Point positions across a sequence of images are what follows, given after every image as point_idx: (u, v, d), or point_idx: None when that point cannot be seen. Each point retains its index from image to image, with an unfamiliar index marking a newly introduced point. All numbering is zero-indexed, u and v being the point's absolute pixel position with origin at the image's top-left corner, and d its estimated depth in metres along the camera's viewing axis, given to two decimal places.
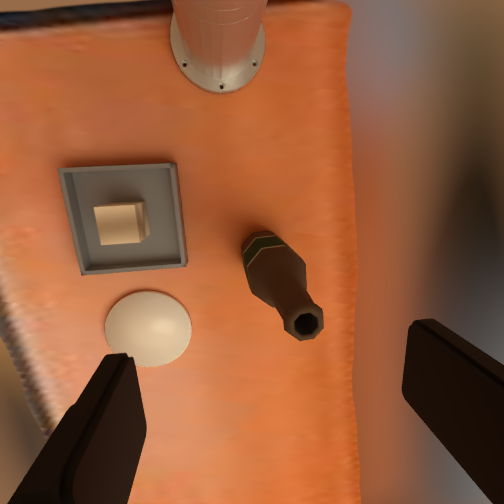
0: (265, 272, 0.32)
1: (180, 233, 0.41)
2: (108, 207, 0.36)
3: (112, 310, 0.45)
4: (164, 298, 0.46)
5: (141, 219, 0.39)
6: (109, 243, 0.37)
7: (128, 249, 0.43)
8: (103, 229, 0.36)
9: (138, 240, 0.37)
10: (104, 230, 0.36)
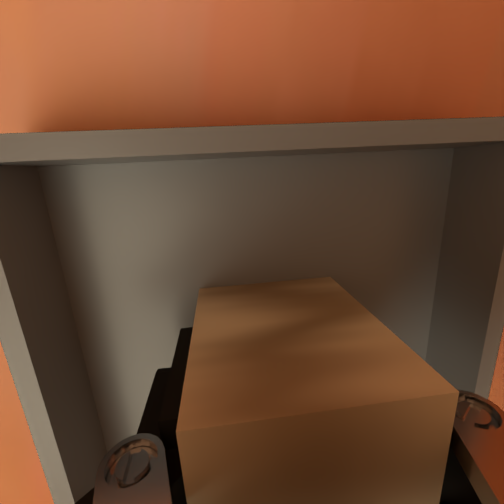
0: None
1: None
2: (438, 468, 0.05)
3: None
4: None
5: None
6: (192, 480, 0.05)
7: (141, 328, 0.10)
8: (300, 445, 0.05)
9: None
10: (292, 450, 0.05)
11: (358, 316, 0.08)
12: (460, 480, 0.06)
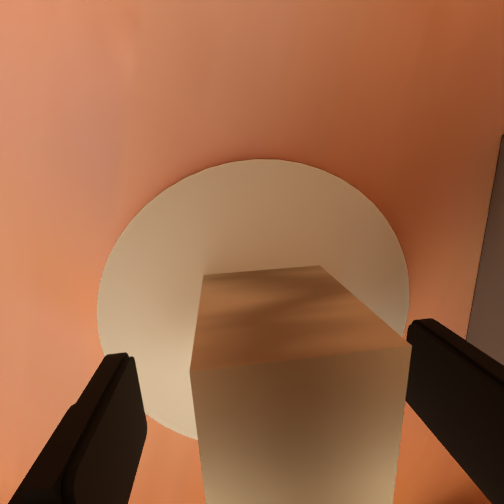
0: None
1: None
2: (398, 410, 0.07)
3: (362, 202, 0.12)
4: None
5: None
6: (201, 412, 0.06)
7: None
8: (286, 386, 0.06)
9: None
10: (280, 390, 0.06)
11: (340, 295, 0.09)
12: None
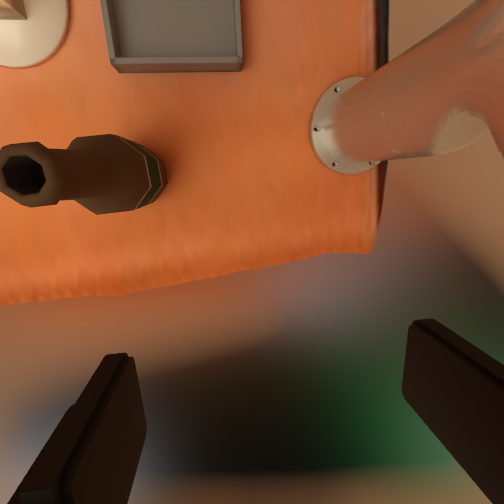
0: (110, 150, 0.24)
1: (157, 61, 0.32)
2: None
3: None
4: (57, 28, 0.32)
5: None
6: None
7: None
8: None
9: None
10: None
11: None
12: None
